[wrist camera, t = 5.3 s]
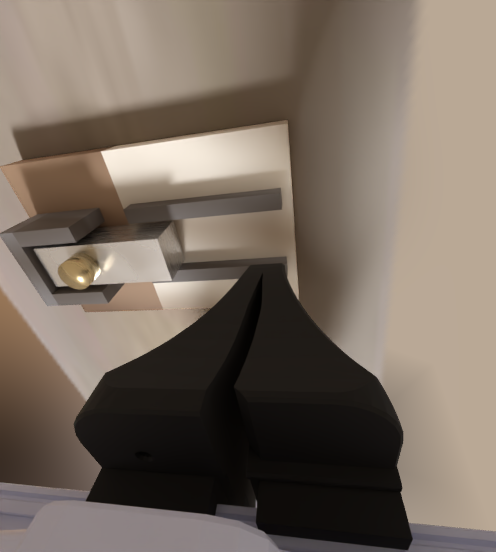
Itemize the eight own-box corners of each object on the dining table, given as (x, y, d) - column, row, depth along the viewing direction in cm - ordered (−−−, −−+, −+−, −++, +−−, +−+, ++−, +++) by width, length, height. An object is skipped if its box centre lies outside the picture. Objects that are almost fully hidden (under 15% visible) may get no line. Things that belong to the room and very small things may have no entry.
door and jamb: (298, 290, 19) (299, 336, 15) (97, 299, 22) (61, 338, 18) (287, 119, 13) (286, 132, 10) (21, 160, 16) (-50, 180, 13)
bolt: (185, 259, 17) (164, 292, 14) (80, 266, 18) (43, 297, 15) (173, 220, 15) (148, 249, 13) (61, 231, 17) (18, 259, 14)
